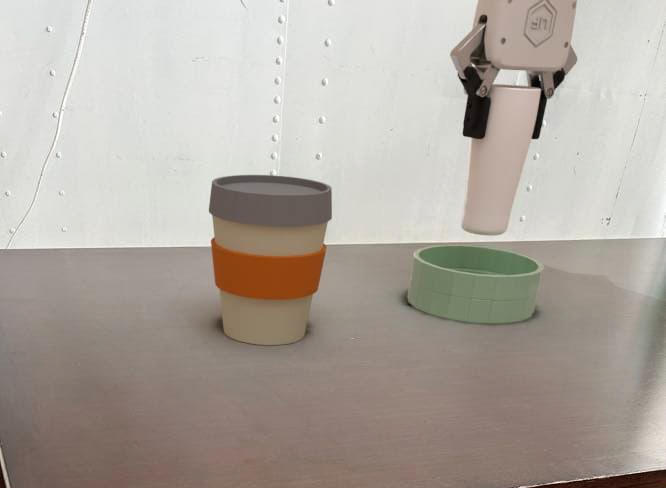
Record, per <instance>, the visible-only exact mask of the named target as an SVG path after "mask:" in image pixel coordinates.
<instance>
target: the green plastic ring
mask: <svg viewBox="0 0 666 488" xmlns="http://www.w3.org/2000/svg"><path fill="white" fill-rule="evenodd" d="M544 270H545V266H544V265H543V263H542V262H541V261H539V260H537V259H535V258H533V257H531V256H528V255H525V254H522V253H519V252H515V251H510V250H505V249H501V248H495V247H489V246H483V245H481V246H479V245H466V244H439V245H437V244H436V245H429V246H425V247H422V248H418V249H417V250H415V251H414V252H413V255H412V262H411V269H410V276H409V282H408V290H407V302H408V303H409V304H410V305H411V306H412V307H413V308H415V309H417V310H419V311H422V312H424V313H426V314H429V315H431V316H432V315H433V316H436V317H440V318H443V319H448V320H454V321H459V322H464V323H475V324H511V323H517V322H523V321H525V320H527V319H530V318H532V317H533V314H534V313H535V310H536V304H537V301H538V296H539V291H540V288H541V283H542V280H543V275H544Z"/></svg>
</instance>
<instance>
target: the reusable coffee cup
mask: <svg viewBox="0 0 666 488" xmlns="http://www.w3.org/2000/svg"><path fill="white" fill-rule="evenodd" d="M332 189H333V188H332V187H331V186H330V185H329V184H328V183H325V182H321V181H317V180H313V179H310V178H309V179H308V178H304V177H303V178H302V177H294V176H285V175H273V174H271V175H270V174H237V175H236V174H235V175H225V176H220V177H217V178H214V179H213V180H211V187H210V196H209V205H208V213H209V214H210V215H211V216H212V226H213V237H212V238H211V240H210V245H211V246H210V247H211V256H212V265H213V275H214V277H213V278H214V284H215V286H216V287H217V289H219V297H220V304H221V305H220V306H221V307H220V308H221V314H222V315H221V317H222V328H223V334H225V335H226V336H228V338H230V339H232V340H235V341H238V342H241V343H244V344H245V343H246V344H251V345H258V346H281V345H289V344H293V343H296V342H299V341H300V340H303V338H305V335H306V330H307V325H308V321H309V316H310V311H311V305H312V300H313V296H314V294H316V293H317V292H318V290H319V286H320V282H321V277H322V271H323V268H324V261H325V257H326V253H327V248H328V246H327V245H326V244H325V237H326V234H327V228H328V223H329V222H330V221H331V220H332V219H333V218H332V217H333V201H332V200H333V199H332V193H333V192H332Z"/></svg>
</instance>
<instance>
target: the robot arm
mask: <svg viewBox="0 0 666 488" xmlns="http://www.w3.org/2000/svg"><path fill="white" fill-rule="evenodd" d="M577 5H578V0H477V4H476V7H475V13H474V17H473V22H472V29H471V30H470V31H469V32H468V33H467V35H466V36H464V37H463V38H462V40H461V41H460V42H459V43H458V44H457V45H456V46H454V48H452V49H451V51H450V55H449V57H450V59H451V62H452V64H453V67H454V69H455V70H456V71H457V78H458V79H459V81H460V83H461V85H462V86H463V90H462V91H463V93H464V95H465V96H467V98H466V104H465V110H464V117H463V123H462V124H463V127H462V136H463V137H465V138H469V139H470V138H475V139H483V138H484V137H485V133H486V127H487V121H488V116H489V110H490V104H491V98H490V97H486V95H487V93H488V92H489V90H490V88H491V86H492V84H494V82H495V80H496V78H497V77H498V75H499V73H500V72H501V70H508V71H525V76H526V82H527V86H529V87H537V88H540V89H541V94H540V101H539V107H538V113H537V118H536V122H535V127H534V131H533V135H532V139H531V140H539V138H540V137H541V131H542V126H543V122H544V117H545V113H546V108H547V104H548V100H550V99H552V98H553V97H554V95H555V90H556V89H558V87H559V86H560V85H561V84H562V83H563V82H564V80H565V78H566V76H567V75H568V74H569V73H570V71H571V70H572V69H573V68H574V67H575V65H576V64H577V62H578V56H577V54H576V52H575V50H574V49H573V47H572V43H571V42H572V37H573V32H574V31H573V30H574V25H575V19H576V13H577V12H576V11H577ZM473 65H474V66H473Z"/></svg>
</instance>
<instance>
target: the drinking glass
mask: <svg viewBox="0 0 666 488" xmlns="http://www.w3.org/2000/svg"><path fill="white" fill-rule="evenodd" d="M540 94H541V89H540V88H537V87H529V86H528V85H517V84H504V83H503V84H502V83H493V84H492V86H491V88H490V90H489V92H488V93H487V95H486V97H490V98H491V104H490V110H489V116H488V121H487V127H486V133H485V137H484V138H483V139H475V138H470V137H469V145H468V147H469V148H468V156H467V157H468V158H467V169H466V178H465V179H466V181H465V190H464V199H463V200H464V201H463V209H462V215H461V222H460V223H461V224H460V226H461V228H462V230H463V231H464V232H466V233H469V234H474V235H479V236H491V237H492V236H500V235H503V234H505V233H506V232H507V230H508V227H509V222H510V218H511V214H512V210H513V205H514V202H515V199H516V195H517V191H518V188H519V185H520V181H521V177H522V174H523V170H524V167H525V163H526V160H527V156H528V152H529V149H530V146H531V142H532V140H533V139H532V135H533V131H534V127H535V122H536V118H537V113H538V107H539V101H540Z"/></svg>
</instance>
